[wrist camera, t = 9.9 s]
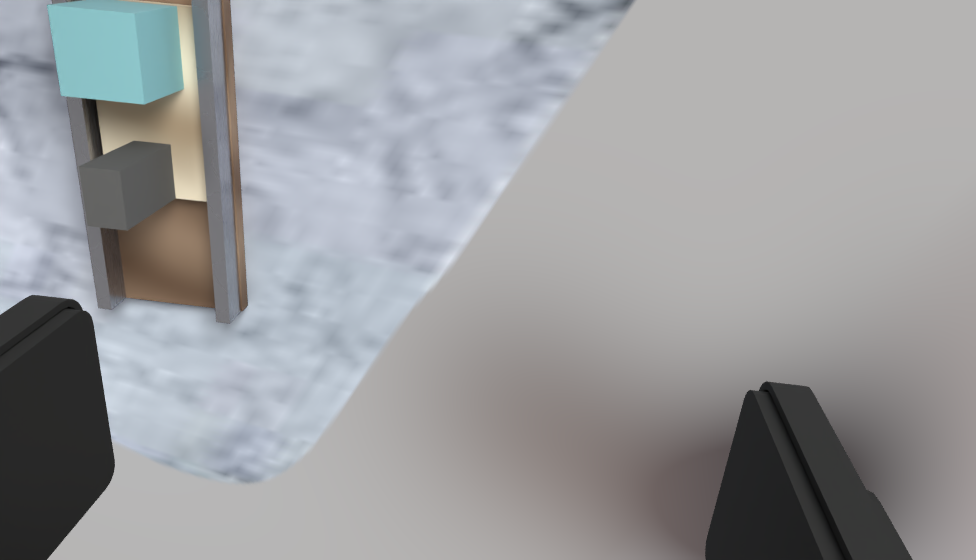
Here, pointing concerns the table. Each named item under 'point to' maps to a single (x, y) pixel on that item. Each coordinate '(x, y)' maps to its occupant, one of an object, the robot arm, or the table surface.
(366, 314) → the table surface
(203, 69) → the board
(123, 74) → the cube
